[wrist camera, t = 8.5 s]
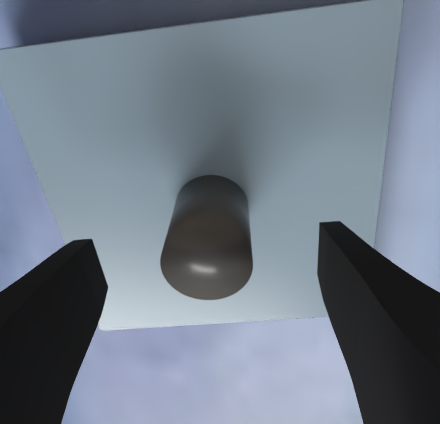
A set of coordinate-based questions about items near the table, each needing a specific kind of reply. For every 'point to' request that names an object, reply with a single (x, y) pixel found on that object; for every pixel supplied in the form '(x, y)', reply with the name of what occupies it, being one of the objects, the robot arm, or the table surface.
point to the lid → (211, 154)
